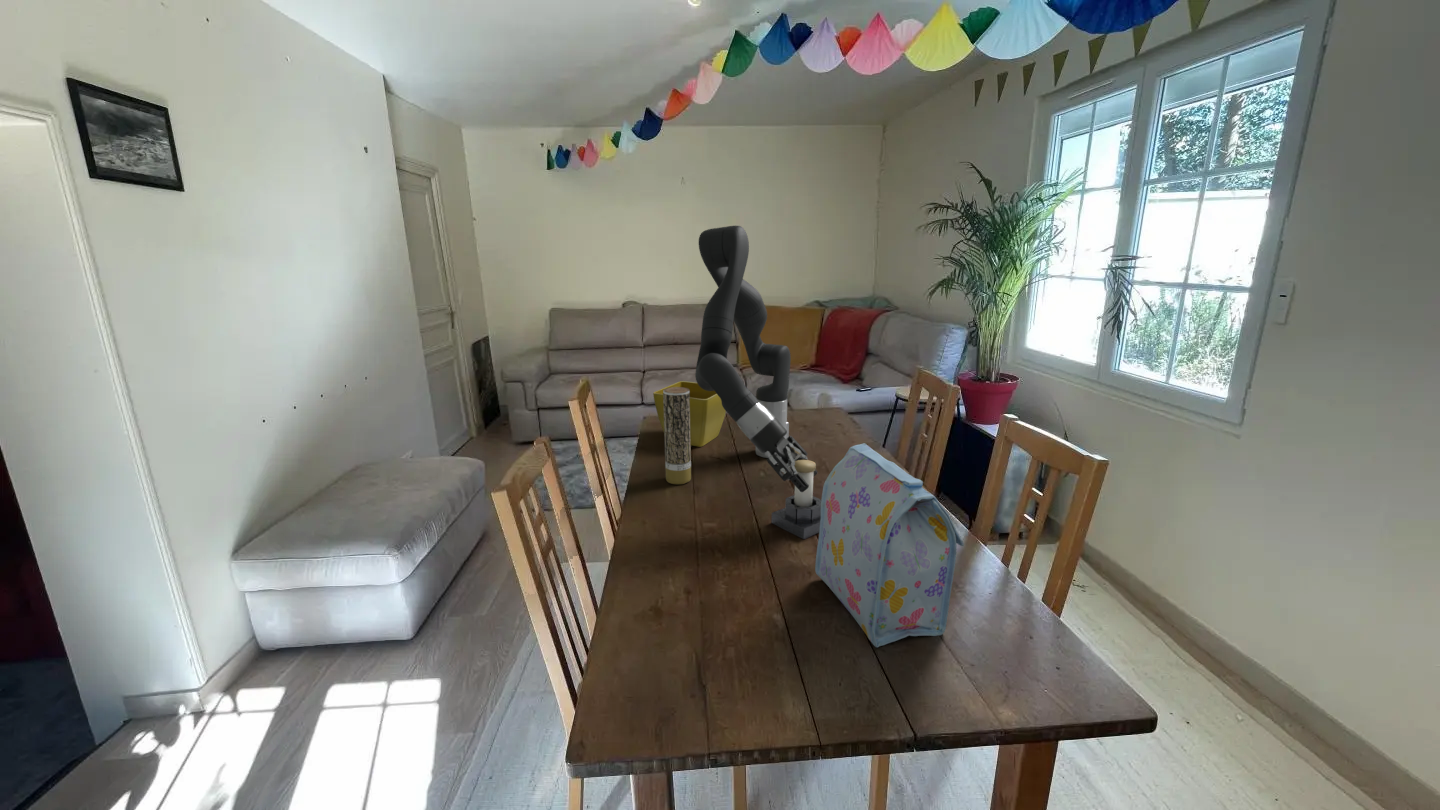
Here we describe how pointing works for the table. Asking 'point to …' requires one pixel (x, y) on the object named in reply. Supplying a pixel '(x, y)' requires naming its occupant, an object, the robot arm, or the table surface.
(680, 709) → the table surface
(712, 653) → the table surface
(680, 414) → the paper tube
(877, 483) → the lunch bag
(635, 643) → the table surface
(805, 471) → the white beige cylinder
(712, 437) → the flower pot
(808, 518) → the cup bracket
